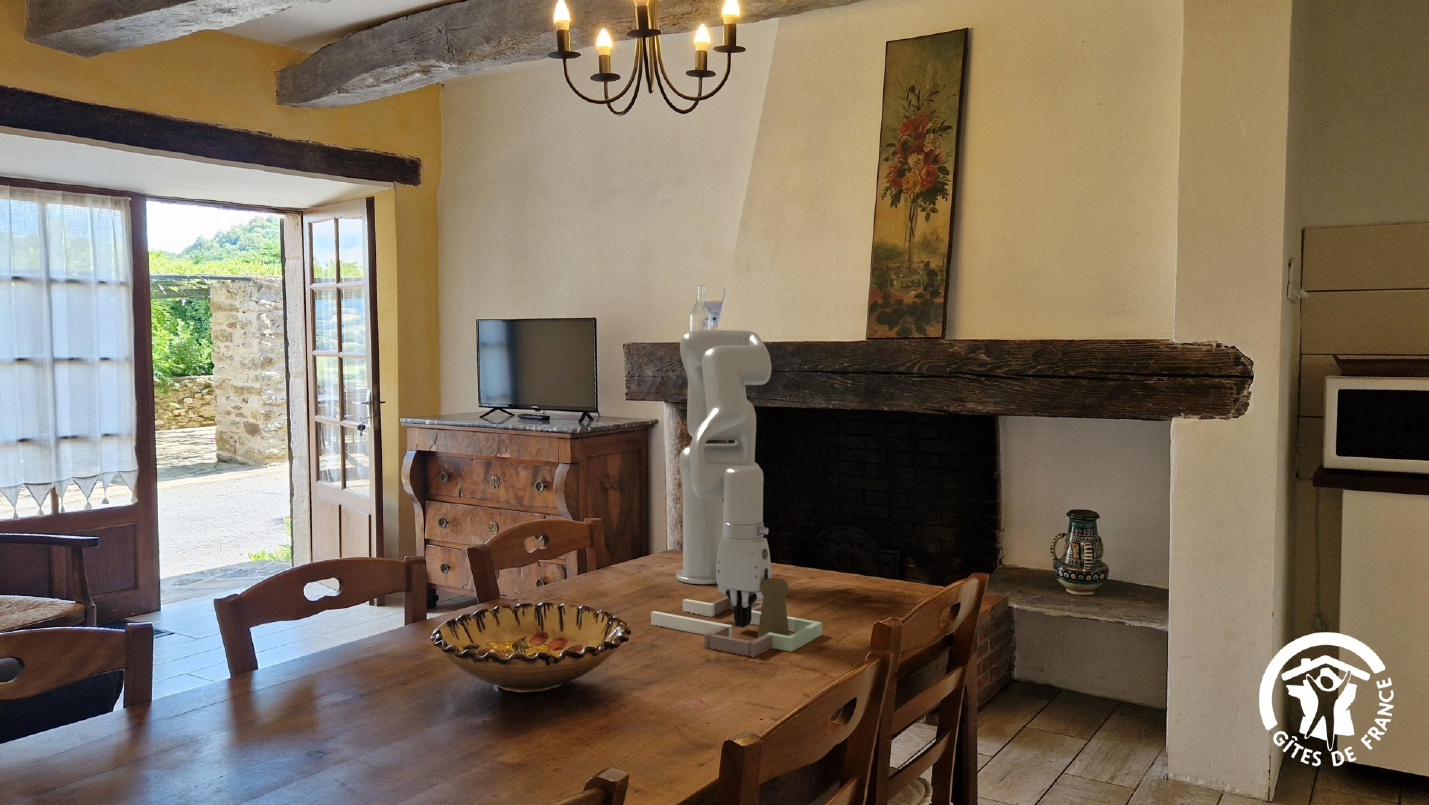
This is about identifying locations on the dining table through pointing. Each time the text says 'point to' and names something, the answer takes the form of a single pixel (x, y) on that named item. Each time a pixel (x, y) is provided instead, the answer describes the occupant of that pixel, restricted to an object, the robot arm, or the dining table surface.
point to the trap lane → (722, 633)
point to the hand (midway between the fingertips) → (742, 625)
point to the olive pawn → (773, 607)
